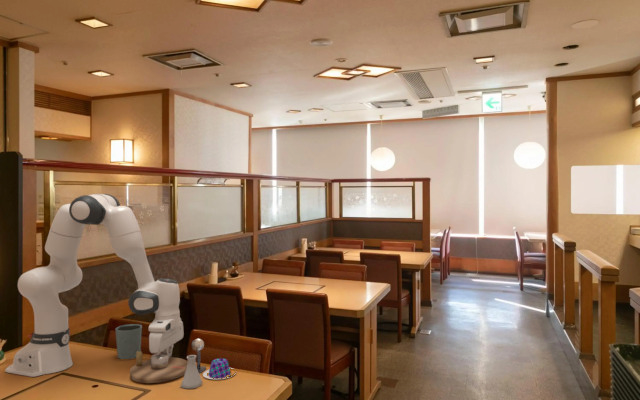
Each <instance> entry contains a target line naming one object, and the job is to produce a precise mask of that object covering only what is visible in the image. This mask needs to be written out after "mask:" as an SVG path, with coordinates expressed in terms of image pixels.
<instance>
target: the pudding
mask: <svg viewBox="0 0 640 400" xmlns="http://www.w3.org/2000/svg"><path fill="white" fill-rule="evenodd" d="M230 368H231V369H234V368H232V367H230V365H229V360H228V359H226V358H221V357H220V358H215V359H213V360H211V363H210V366H209V369H207V370H206V369H205V370H204V371H203V372H202V376H203V377H204V378H205V379H209V380H214V379H215V380H218V379H221V378H222V379H221V380H224V379H229V378H230V377H228V376H227V375H229V376H230V375H231V373H230ZM207 373H209V374H208V376H207ZM236 374H237V372H236V373H235V374H234V375H236ZM234 375H233V376H234ZM226 376H227V378H226ZM224 377H225V378H224ZM213 378H214V379H213ZM217 378H218V379H217Z"/></svg>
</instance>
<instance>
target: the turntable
mask: <svg viewBox="0 0 640 400" xmlns="http://www.w3.org/2000/svg"><path fill="white" fill-rule="evenodd" d="M135 360H136V363H135V364H134V365H132V367H130V369H129V377H130V379H131V380H132V381H134V382H137V383H143V384H145V383H146V384H154V383H163V382H169V381H172V380H175V379H177V378H181V377H182V376H184V375H185V372H186V369H187V364H188V360H186V359H184V358H180V357H173V356H171V357H169V358H168V367H167V368H165V369H161V370H153V369H151V358H150V359H146V360H143V351H142V350H140V351H138V352H136V358H135Z"/></svg>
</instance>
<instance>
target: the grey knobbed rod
mask: <svg viewBox="0 0 640 400" xmlns="http://www.w3.org/2000/svg"><path fill="white" fill-rule="evenodd" d="M204 346H205V342H204V340H203V339H201V338H199V337H198V338H196V339H194V340H192V342H191V348H192V350H193V351H195V352H196V366H197V369H198V372H199V374H203V373H204V372H205V371H206V369H207V366H204V365H201V350H203V348H204Z"/></svg>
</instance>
